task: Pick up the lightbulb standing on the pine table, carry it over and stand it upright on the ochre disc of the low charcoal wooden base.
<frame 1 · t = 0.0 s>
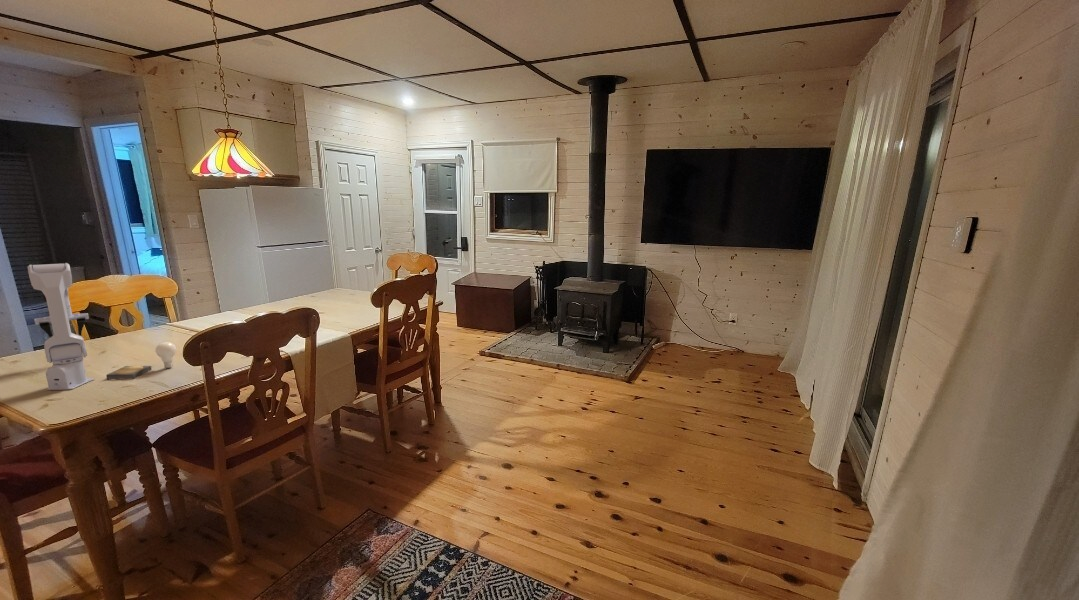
hand: (66, 337, 174), 11 cm above the table, tool pointing down, fingers open, 7 cm apart
lightbulb: (168, 368, 173), on the table
charcoal base: (130, 374, 165), on the table
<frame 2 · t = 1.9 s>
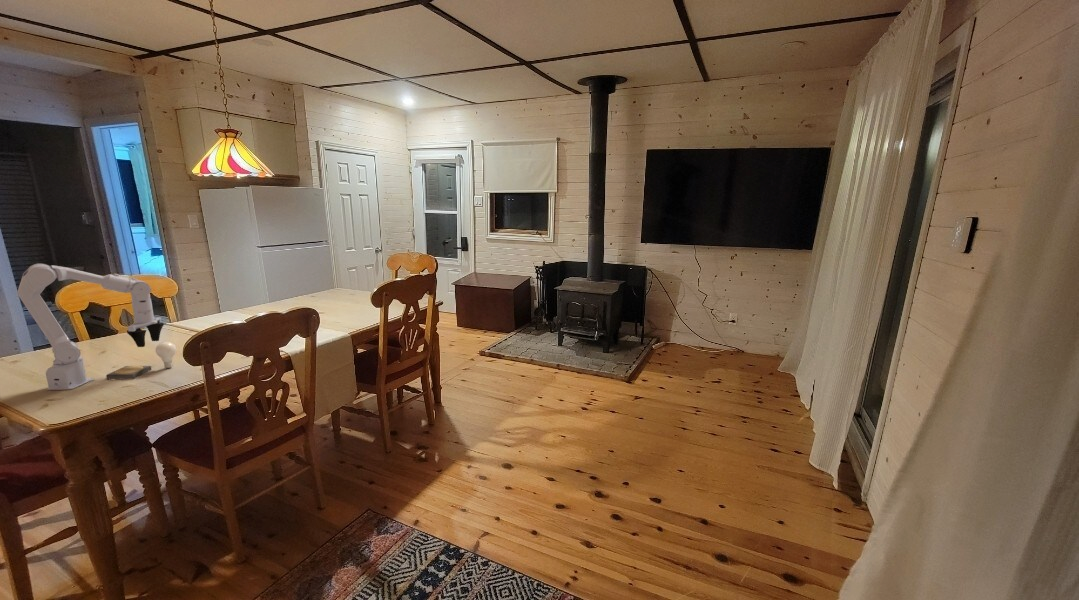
hand: (148, 343, 170), 10 cm above the table, tool pointing down, fingers open, 7 cm apart
nothing on the table moved.
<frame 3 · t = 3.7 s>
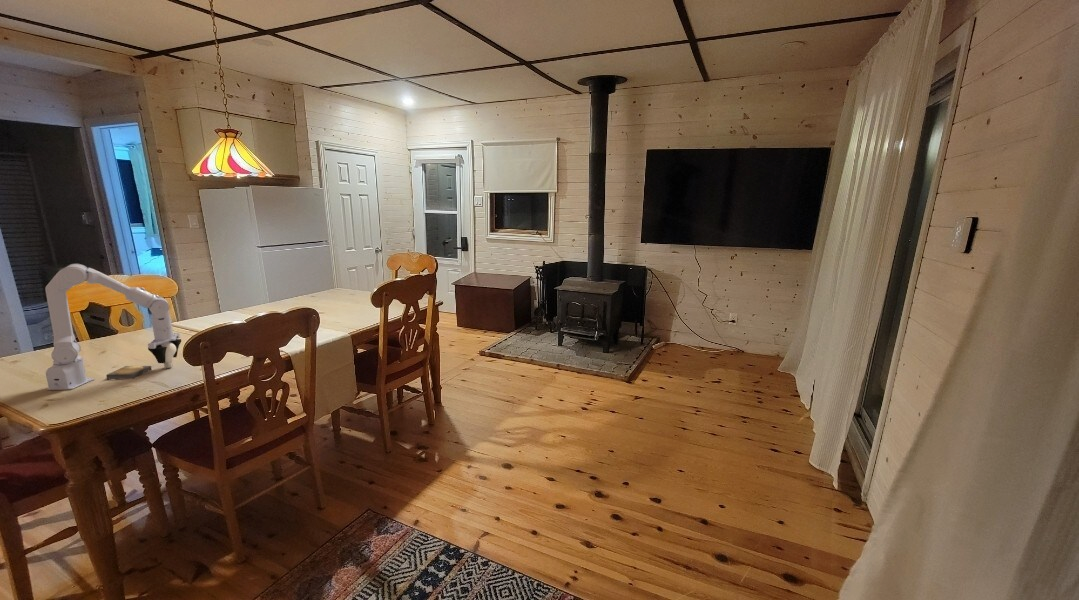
hand: (167, 360, 172), 3 cm above the table, tool pointing down, fingers closed on lightbulb, 6 cm apart
lightbulb: (168, 368, 173), on the table, touching gripper
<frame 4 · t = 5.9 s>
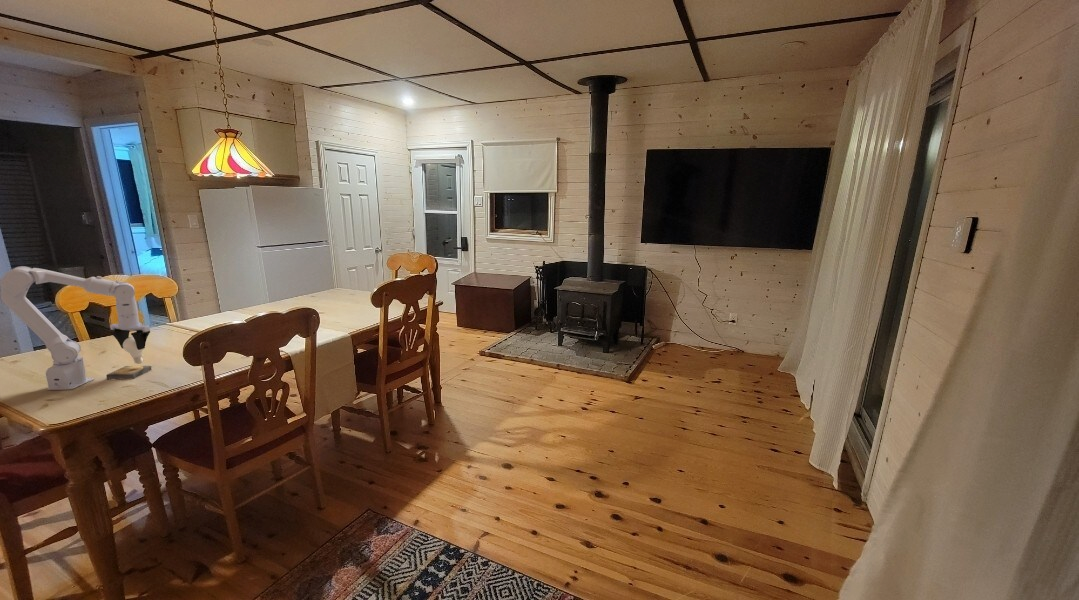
hand: (133, 348, 165), 10 cm above the table, tool pointing down, fingers closed on lightbulb, 6 cm apart
lightbulb: (139, 363, 167), point 4 cm above the table, touching gripper
when the fingers open (6 cm above the table, at t = 7.7 s): lightbulb stays where it is, resting on charcoal base.
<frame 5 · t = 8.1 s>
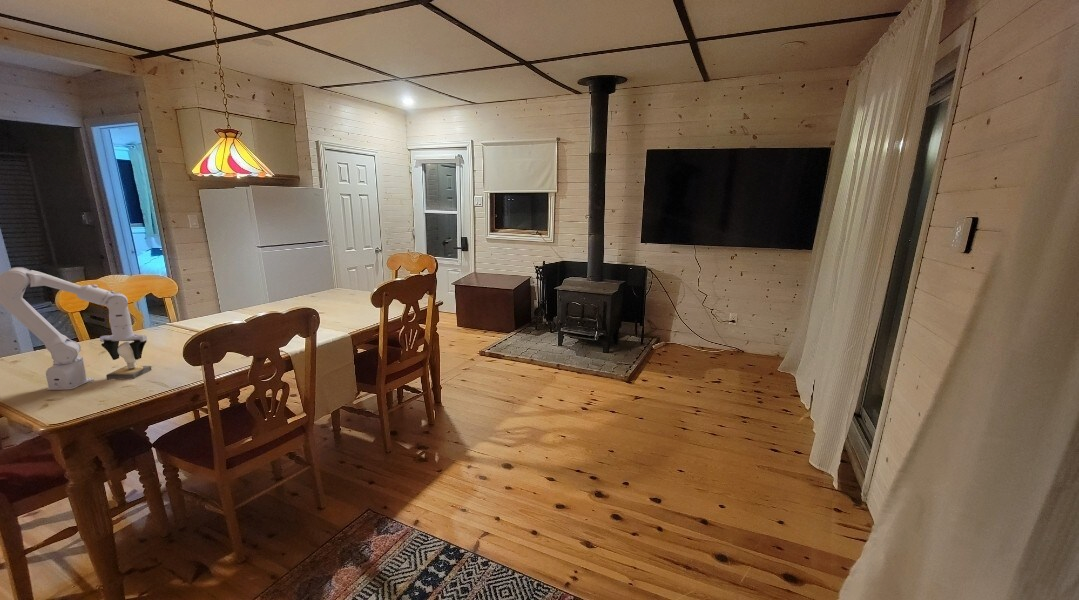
hand: (127, 358, 164), 6 cm above the table, tool pointing down, fingers open, 7 cm apart
lightbulb: (132, 369, 166), point 2 cm above the table, touching charcoal base, gripper
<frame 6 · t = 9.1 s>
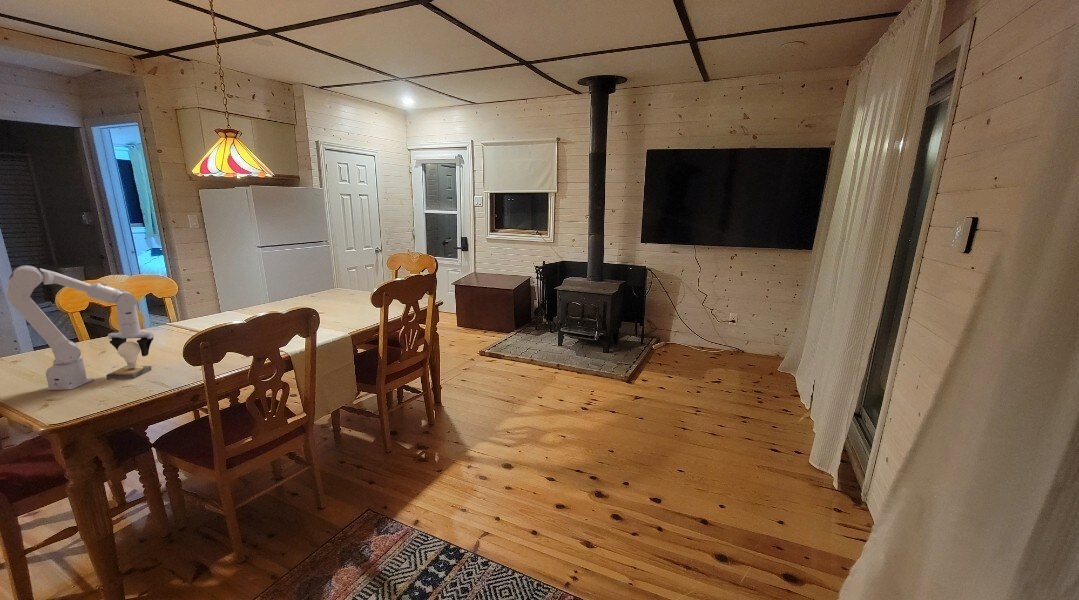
hand: (134, 355, 167), 6 cm above the table, tool pointing down, fingers open, 7 cm apart
lightbulb: (132, 369, 166), point 2 cm above the table, touching charcoal base
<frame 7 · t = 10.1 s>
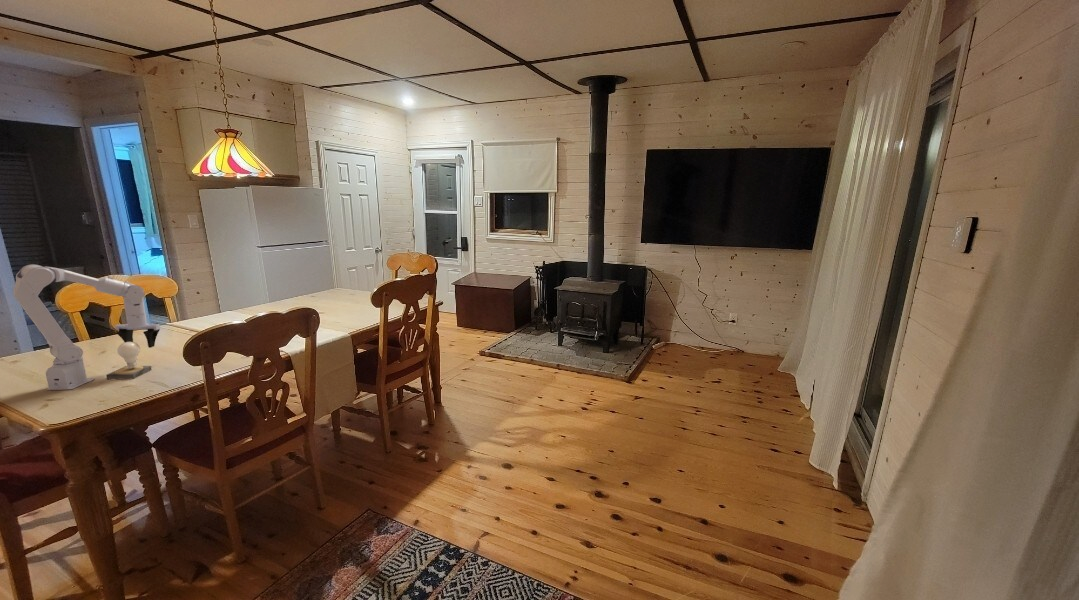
hand: (141, 346, 171), 9 cm above the table, tool pointing down, fingers open, 7 cm apart
nothing on the table moved.
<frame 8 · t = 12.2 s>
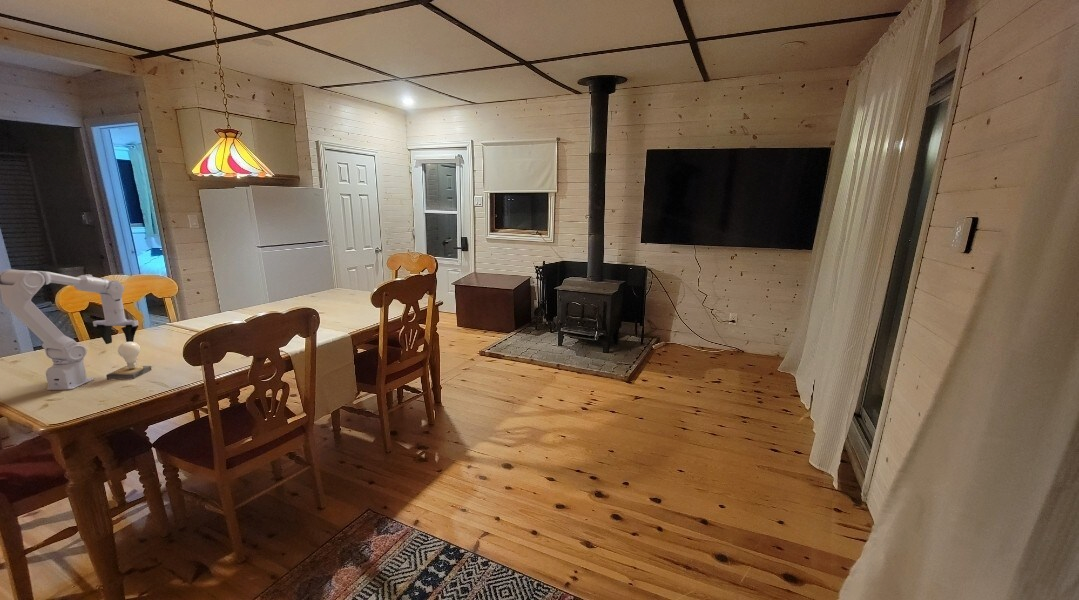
hand: (119, 343, 169), 10 cm above the table, tool pointing down, fingers open, 7 cm apart
nothing on the table moved.
at the end: lightbulb 1.0 cm off-centre on the charcoal base, point 1.8 cm above the charcoal base's base; lightbulb tilted 0°; the gripper is holding nothing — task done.
